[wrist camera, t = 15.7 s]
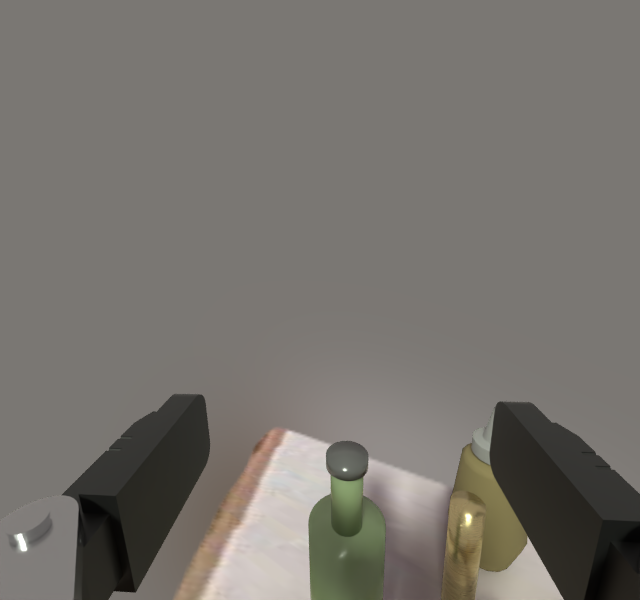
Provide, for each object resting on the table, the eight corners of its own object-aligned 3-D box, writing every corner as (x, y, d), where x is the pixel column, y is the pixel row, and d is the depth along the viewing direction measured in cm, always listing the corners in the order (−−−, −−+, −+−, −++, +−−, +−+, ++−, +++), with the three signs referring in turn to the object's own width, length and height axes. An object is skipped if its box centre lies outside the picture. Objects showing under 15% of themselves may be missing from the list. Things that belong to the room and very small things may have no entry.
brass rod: (467, 586, 35) (478, 491, 32) (478, 620, 32) (492, 519, 29) (437, 585, 35) (446, 489, 32) (446, 618, 32) (456, 517, 29)
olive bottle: (375, 640, 30) (383, 430, 25) (382, 729, 25) (394, 488, 19) (315, 635, 30) (310, 428, 25) (310, 723, 25) (301, 484, 20)
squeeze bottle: (434, 519, 42) (445, 391, 38) (495, 514, 43) (513, 387, 39) (466, 588, 35) (484, 437, 30) (540, 580, 35) (569, 431, 31)
